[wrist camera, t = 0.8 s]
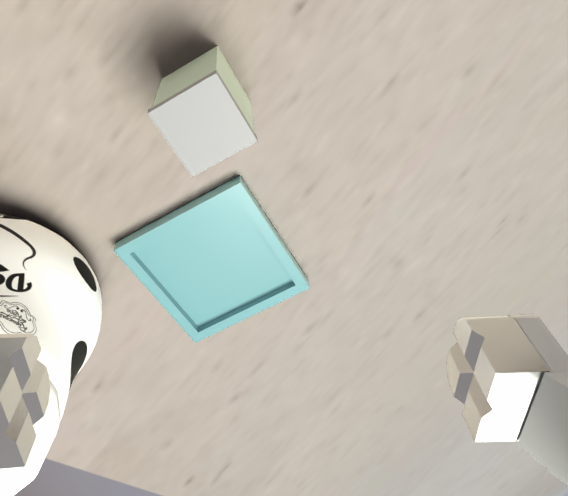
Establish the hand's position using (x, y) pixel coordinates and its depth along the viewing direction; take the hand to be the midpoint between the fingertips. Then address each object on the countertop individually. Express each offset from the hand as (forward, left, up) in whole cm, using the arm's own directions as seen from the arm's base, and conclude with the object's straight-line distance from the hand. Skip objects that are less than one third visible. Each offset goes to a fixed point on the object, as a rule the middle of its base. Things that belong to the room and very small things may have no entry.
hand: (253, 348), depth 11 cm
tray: (+17, -13, -35) cm, 41 cm away
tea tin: (+3, -5, -35) cm, 35 cm away
